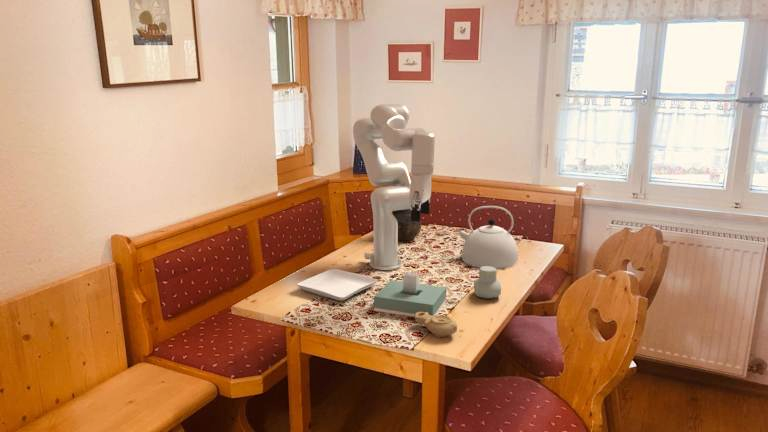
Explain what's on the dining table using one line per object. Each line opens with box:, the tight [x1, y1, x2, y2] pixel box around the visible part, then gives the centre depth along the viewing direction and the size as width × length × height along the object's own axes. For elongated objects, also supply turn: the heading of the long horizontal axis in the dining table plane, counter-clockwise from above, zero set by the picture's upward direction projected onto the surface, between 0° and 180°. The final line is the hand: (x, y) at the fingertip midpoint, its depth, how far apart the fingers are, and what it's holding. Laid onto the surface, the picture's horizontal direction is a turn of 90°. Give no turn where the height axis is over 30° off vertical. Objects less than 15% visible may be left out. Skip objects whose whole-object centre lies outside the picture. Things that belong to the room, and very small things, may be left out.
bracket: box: [402, 272, 420, 296], centre depth 208 cm, size 4×3×10 cm, turn 69°
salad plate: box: [296, 268, 378, 302], centre depth 223 cm, size 21×21×3 cm
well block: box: [373, 279, 447, 318], centre depth 209 cm, size 20×16×5 cm
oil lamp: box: [414, 312, 458, 338], centre depth 190 cm, size 11×14×5 cm
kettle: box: [456, 205, 519, 269], centre depth 253 cm, size 25×23×23 cm
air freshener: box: [473, 266, 502, 299], centre depth 217 cm, size 11×8×10 cm
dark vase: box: [392, 208, 422, 242], centre depth 280 cm, size 18×18×28 cm
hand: (420, 217), depth 217 cm, fingers open, 9 cm apart
